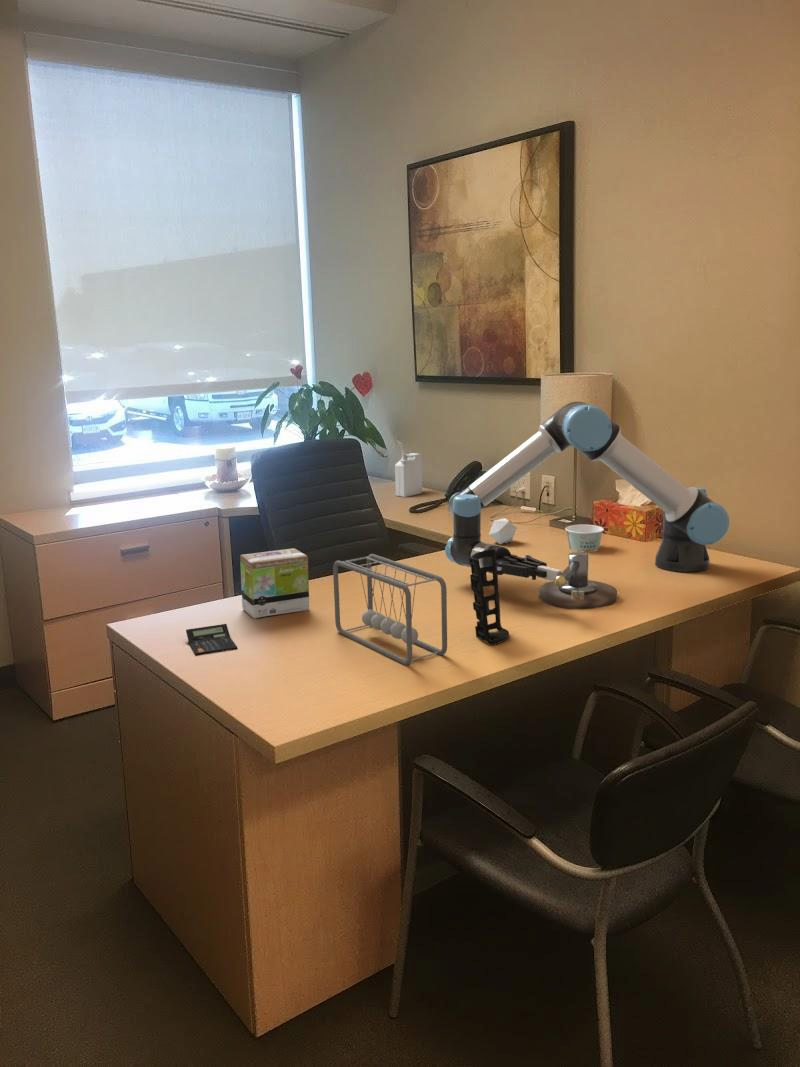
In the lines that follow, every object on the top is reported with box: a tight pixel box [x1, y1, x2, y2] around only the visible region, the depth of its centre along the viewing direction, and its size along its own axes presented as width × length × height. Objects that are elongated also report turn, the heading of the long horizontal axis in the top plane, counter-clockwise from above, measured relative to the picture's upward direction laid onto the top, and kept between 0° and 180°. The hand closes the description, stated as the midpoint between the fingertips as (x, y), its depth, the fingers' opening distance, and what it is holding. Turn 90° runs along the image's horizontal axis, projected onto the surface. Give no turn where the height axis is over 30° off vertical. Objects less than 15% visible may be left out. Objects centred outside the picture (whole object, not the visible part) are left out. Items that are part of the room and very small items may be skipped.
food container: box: [564, 524, 605, 552], centre depth 280 cm, size 12×12×6 cm
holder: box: [469, 549, 510, 646], centre depth 199 cm, size 11×8×20 cm
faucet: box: [554, 551, 598, 594], centre depth 221 cm, size 25×10×9 cm, turn 156°
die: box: [488, 517, 517, 545], centre depth 290 cm, size 8×9×10 cm
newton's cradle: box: [332, 553, 448, 666], centre depth 197 cm, size 30×10×18 cm, turn 35°
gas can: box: [394, 439, 423, 498], centre depth 377 cm, size 15×5×25 cm, turn 141°
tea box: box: [239, 547, 310, 619], centre depth 224 cm, size 15×10×15 cm
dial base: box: [538, 579, 618, 610], centre depth 229 cm, size 20×20×4 cm
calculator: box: [185, 623, 238, 656], centre depth 201 cm, size 9×12×3 cm
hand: (559, 576), depth 215 cm, fingers closed
